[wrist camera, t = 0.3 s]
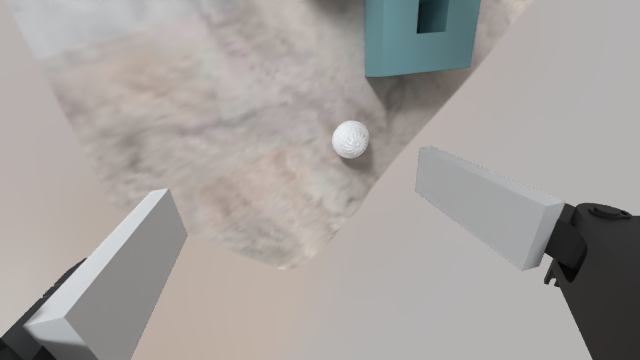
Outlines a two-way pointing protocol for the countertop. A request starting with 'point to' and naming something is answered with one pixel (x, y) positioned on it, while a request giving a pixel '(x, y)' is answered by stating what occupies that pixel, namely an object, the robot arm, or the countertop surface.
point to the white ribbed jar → (350, 139)
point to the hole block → (418, 36)
